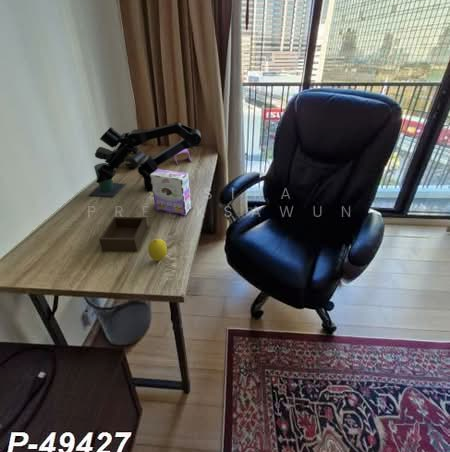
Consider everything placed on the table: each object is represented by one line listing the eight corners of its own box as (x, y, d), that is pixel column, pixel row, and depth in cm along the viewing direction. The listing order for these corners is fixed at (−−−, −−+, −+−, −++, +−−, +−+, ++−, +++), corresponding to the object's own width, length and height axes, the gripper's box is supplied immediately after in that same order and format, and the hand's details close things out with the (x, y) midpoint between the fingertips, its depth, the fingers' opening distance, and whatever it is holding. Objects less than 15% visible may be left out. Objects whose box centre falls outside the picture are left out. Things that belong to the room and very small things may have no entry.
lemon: (152, 253, 81) (148, 234, 77) (169, 252, 81) (166, 233, 78) (148, 267, 76) (144, 247, 72) (167, 265, 76) (164, 245, 73)
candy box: (192, 208, 103) (188, 172, 96) (185, 216, 98) (181, 179, 91) (162, 202, 107) (157, 167, 100) (155, 209, 102) (149, 174, 95)
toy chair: (173, 160, 146) (170, 135, 139) (188, 157, 149) (186, 133, 142) (177, 165, 139) (174, 140, 132) (192, 162, 142) (190, 137, 135)
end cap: (138, 170, 135) (136, 158, 131) (126, 169, 136) (123, 157, 133) (146, 162, 143) (144, 151, 140) (135, 161, 144) (133, 150, 141)
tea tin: (115, 190, 115) (109, 166, 110) (101, 193, 113) (94, 169, 107) (113, 184, 120) (107, 161, 114) (99, 187, 117) (93, 164, 112)
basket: (116, 227, 92) (113, 216, 90) (147, 227, 92) (145, 217, 90) (102, 250, 82) (98, 239, 80) (137, 251, 82) (134, 239, 80)
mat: (103, 183, 122) (102, 182, 122) (124, 184, 121) (124, 183, 120) (89, 195, 112) (89, 194, 112) (112, 197, 111) (112, 196, 111)
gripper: (111, 134, 114) (92, 158, 118) (97, 150, 98) (75, 176, 102) (132, 149, 118) (113, 171, 122) (121, 167, 102) (100, 192, 106)
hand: (100, 177), depth 113 cm, fingers open, 9 cm apart
